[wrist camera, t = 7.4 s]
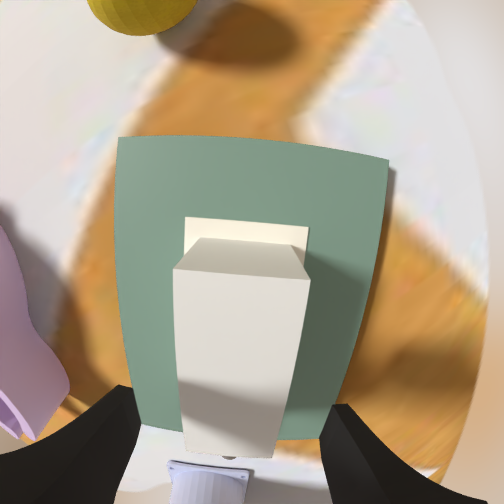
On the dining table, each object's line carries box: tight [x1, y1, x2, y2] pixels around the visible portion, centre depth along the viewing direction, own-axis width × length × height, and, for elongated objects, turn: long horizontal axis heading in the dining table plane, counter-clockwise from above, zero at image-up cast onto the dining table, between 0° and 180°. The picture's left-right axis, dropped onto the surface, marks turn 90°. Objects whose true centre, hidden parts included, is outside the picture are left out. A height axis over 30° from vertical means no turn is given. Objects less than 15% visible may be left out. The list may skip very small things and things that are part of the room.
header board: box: [114, 135, 389, 440], centre depth 14 cm, size 20×14×4 cm
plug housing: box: [173, 237, 311, 460], centre depth 13 cm, size 14×4×5 cm, turn 175°
